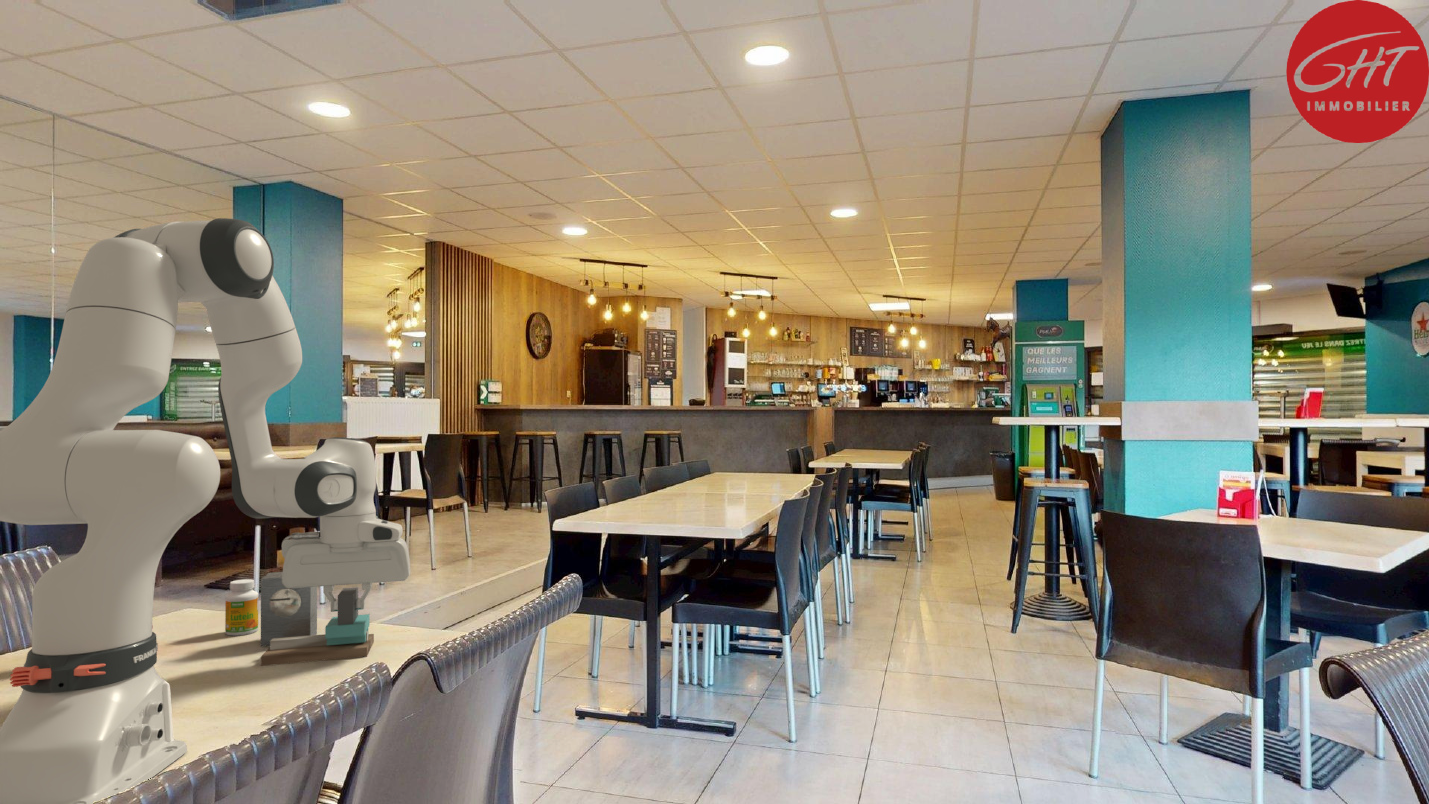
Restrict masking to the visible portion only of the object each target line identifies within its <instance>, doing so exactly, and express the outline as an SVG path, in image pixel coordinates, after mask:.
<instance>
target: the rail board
mask: <svg viewBox="0 0 1429 804" xmlns="http://www.w3.org/2000/svg"><path fill="white" fill-rule="evenodd" d="M374 642H375V634H374V633H369V630H368V631H366V642H362V643H350V644H338V645H327V639H325V634H316V635H311V636H299V637H286V638H274V639H272V640H271V641H270V646H268V648H267V649H266V651H264V653H263V654H262V655H261V656H260V666H261V667H263V666H274V665H285V664H297V663H306V662H307V663H309V662H310V663H311V662H319V661H329V660H339V659H340V660H341V659H353V658H361V657H362V658H363V656H366V657H368V656H369V653H370V651H371V649H372V647H373V645H374Z"/></svg>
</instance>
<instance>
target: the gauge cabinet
mask: <svg viewBox="0 0 1429 804" xmlns="http://www.w3.org/2000/svg"><path fill="white" fill-rule="evenodd" d="M282 573H283V571H275V572H274V571H273V572H268V573H267V574H266V575H264V576H263V577H261V578H260V647H261V648H262V647H270V641H271V640H272V639H274V638H286V637H299V636H311V635H318V587H303V588H286V587H285V586H284V585H283V584H282Z"/></svg>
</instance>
